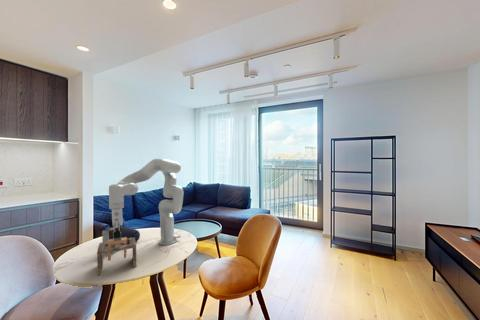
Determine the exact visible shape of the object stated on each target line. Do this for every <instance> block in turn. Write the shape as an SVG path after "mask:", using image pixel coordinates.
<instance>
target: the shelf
mask: <svg viewBox="0 0 480 320" xmlns="http://www.w3.org/2000/svg"><path fill="white" fill-rule="evenodd" d="M127 242H130V243H127V245H124V244H123V245H121V244H122V243H120V244H113V245H115V247H112V248H106V249H105V246H108V242H103V243H102V242H99V244H98V247H97V251H96V252H97V253H96V257H97V258H96V260H97V261H96V263H97V265H96V266H97V270H96V271H97V276H98V277H100V276H102V272H103V265H104V255H103V254H104V253H110V252H115V251H118V252H120V251H124V250H126V249H127V250H130V249H132V263H133V268H137V242H136V241H135V237H133V238H127Z"/></svg>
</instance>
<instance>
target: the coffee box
mask: <svg viewBox="0 0 480 320" xmlns="http://www.w3.org/2000/svg"><path fill="white" fill-rule="evenodd" d="M101 231H102V233H101V234H102V235H101V236H102V242H101V243H103V242H108V240H110V239H114V226H111V227H108V228H106V229H102V230H101ZM112 247H115V245H111V248H112ZM106 248H108V246H105V249H106ZM117 252H119V251H115V252H111V256H112V255H114V254H116V253H117ZM103 256H108V253H104V254H103Z"/></svg>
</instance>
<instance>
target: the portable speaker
mask: <svg viewBox="0 0 480 320" xmlns="http://www.w3.org/2000/svg"><path fill="white" fill-rule="evenodd" d="M120 232H121V238H125V237H127V238H133V237H135V241H136V243H137V242H138V241H139V240H140V238H141V233H140V231H139V230H137V229H136V228H132V227H129V226H128V227H127V226H125V225H124V226H123V225H122V226H121V225H120ZM127 244H130V242H127Z"/></svg>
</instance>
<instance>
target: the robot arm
mask: <svg viewBox="0 0 480 320" xmlns="http://www.w3.org/2000/svg"><path fill="white" fill-rule="evenodd" d="M181 169H182V166H181V163H180V162H179V161H175V160H171V159H167V158H153V159H152V160H150V161H149V162H147V164H145V165H144V166H143V167H142V168H140V169H138V170H137V171H135V172H132V173H131V174H127V176H125V177H123V178H122V179H121V180H119V181H118V182H117V183H114V184H110V185H108V208H109V210H111V221H112V227H114V239H115V238H120V226H123V224H124V223H123V220H124V219H123V208H125V196H133V195H136V194H137V192H139V186H138V185H137V184H138V183H143V182H146V181H148V180H151V178H152V177H153V176H154V175H156V174H157V173H158V172H161V173H162V175H164V182H163V183H164V184H163V190H162V195H163V197H165V198H168V199H162V200H161V201H159V204H158V211H159V218H160V219H159V221H160V222H159V223H160V228H159V229H160V238H159V240H158V244H159V245H161V246H169V245H173V244H175V243H176V242H177V239H180V238H181V234H175V222H174V221H175V219H174V218H175V217H174V215H177V214H179V213H180V212H181V211H182V207H183V203H184V195H185V194H184V193H185V192H184V189H183V187H182V186H181V185H177V175H176V174H178V173H179V172H180V171H181Z"/></svg>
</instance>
